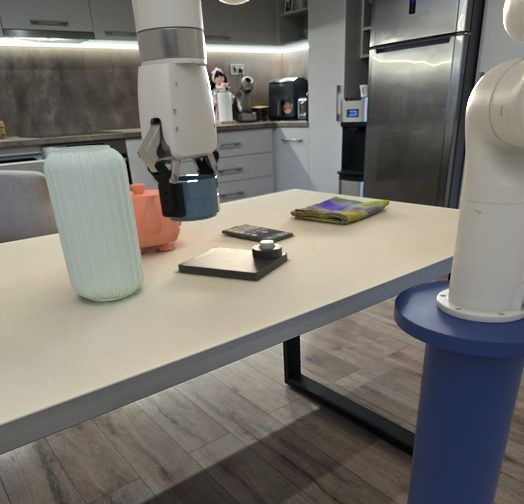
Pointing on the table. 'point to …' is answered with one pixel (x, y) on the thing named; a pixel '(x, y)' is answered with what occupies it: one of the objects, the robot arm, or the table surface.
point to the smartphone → (257, 233)
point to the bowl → (199, 197)
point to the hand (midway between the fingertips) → (192, 209)
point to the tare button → (266, 244)
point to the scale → (235, 262)
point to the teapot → (152, 219)
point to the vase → (95, 221)
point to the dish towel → (340, 210)
